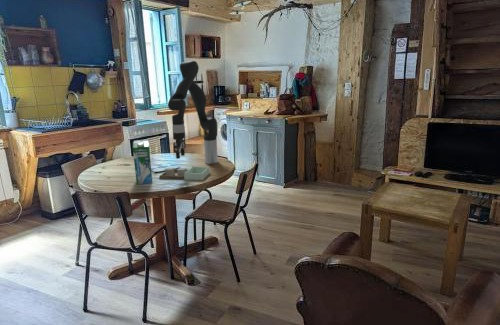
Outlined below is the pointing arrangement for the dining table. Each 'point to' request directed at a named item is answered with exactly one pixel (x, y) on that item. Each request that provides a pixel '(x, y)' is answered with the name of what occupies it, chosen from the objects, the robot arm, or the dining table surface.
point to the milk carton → (142, 162)
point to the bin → (196, 173)
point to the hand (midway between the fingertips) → (180, 156)
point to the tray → (163, 176)
